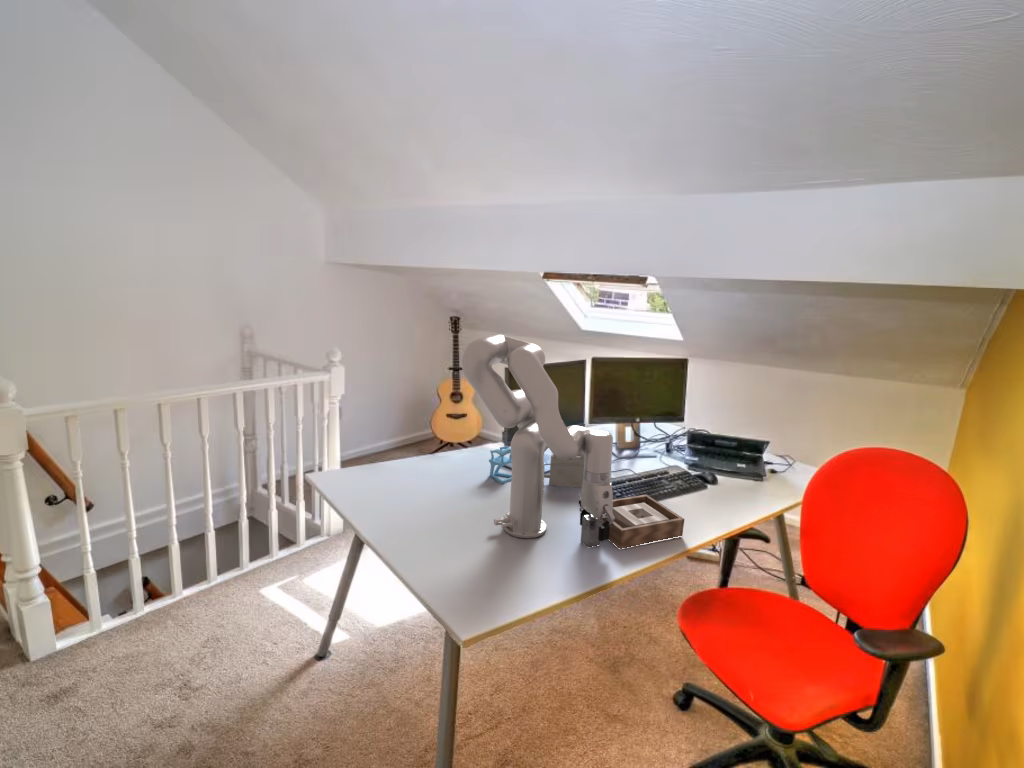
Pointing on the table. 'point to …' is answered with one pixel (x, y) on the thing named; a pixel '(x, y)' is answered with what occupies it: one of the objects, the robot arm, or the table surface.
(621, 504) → the walnut box
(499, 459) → the chair
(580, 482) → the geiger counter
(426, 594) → the table surface
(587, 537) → the metal peg
